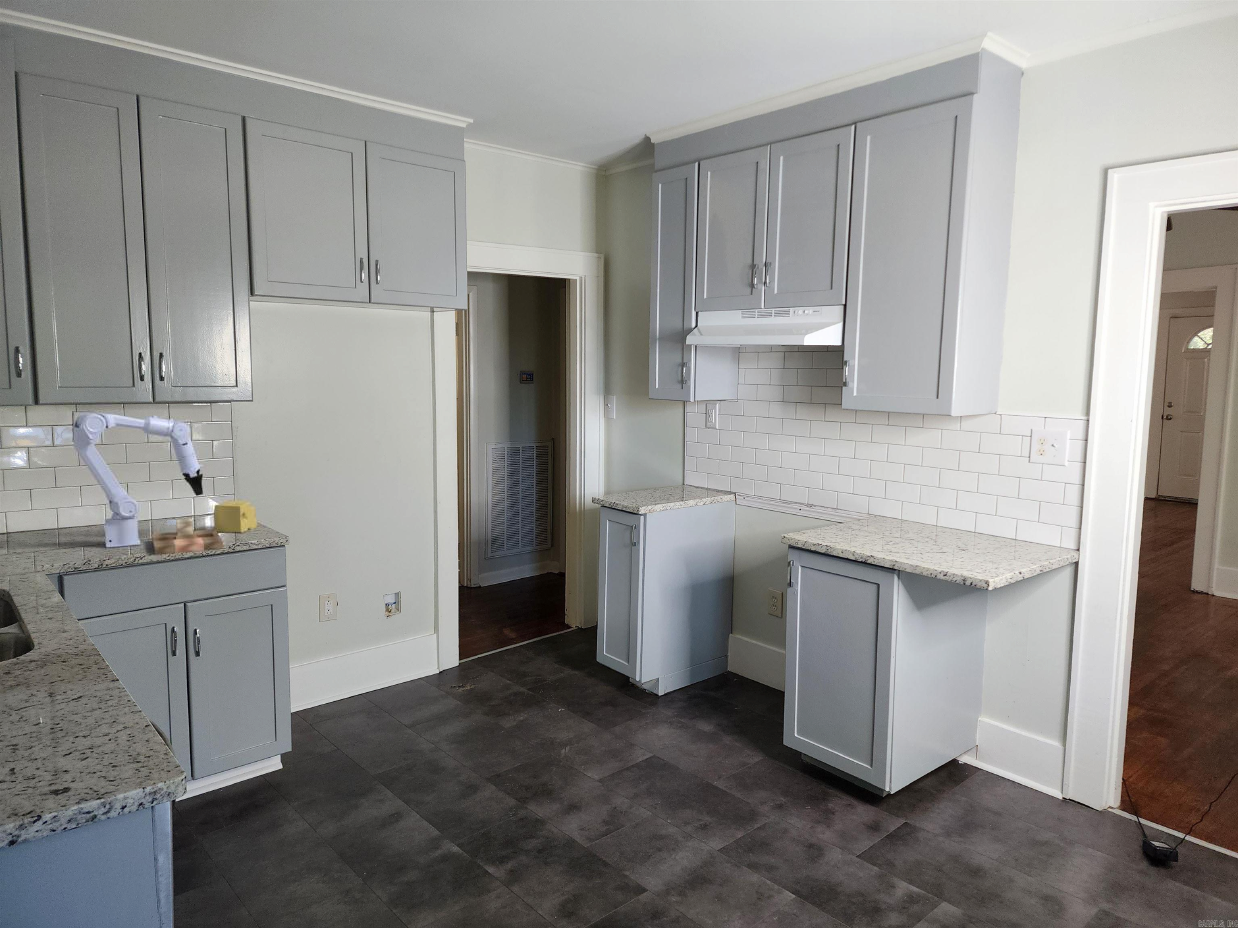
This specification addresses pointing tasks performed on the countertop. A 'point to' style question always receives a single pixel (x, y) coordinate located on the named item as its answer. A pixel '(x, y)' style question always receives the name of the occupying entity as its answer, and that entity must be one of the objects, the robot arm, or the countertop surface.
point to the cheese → (234, 516)
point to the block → (184, 527)
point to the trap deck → (186, 542)
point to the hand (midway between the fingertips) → (198, 492)
